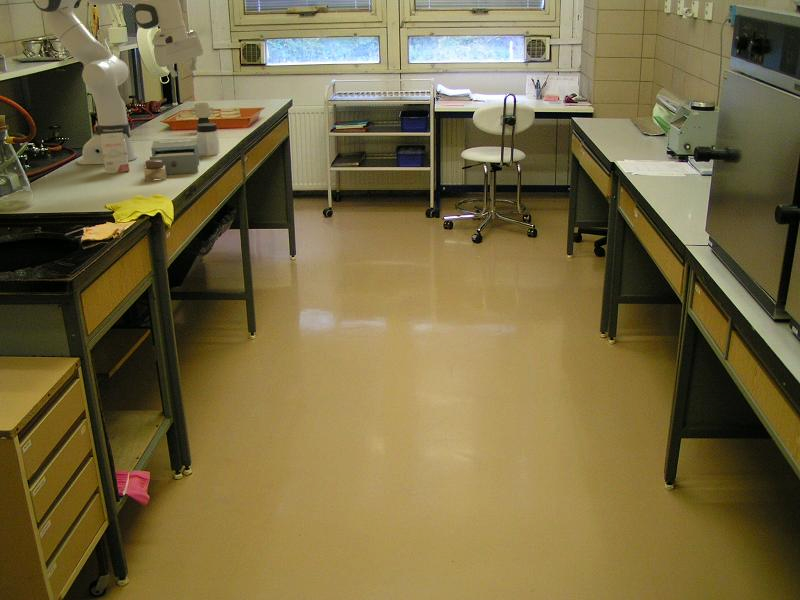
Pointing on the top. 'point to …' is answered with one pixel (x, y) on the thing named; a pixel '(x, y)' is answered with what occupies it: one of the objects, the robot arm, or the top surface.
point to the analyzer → (175, 147)
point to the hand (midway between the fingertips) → (184, 73)
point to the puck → (154, 164)
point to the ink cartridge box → (114, 153)
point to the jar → (208, 139)
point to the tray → (178, 162)
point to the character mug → (202, 112)
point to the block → (155, 173)
